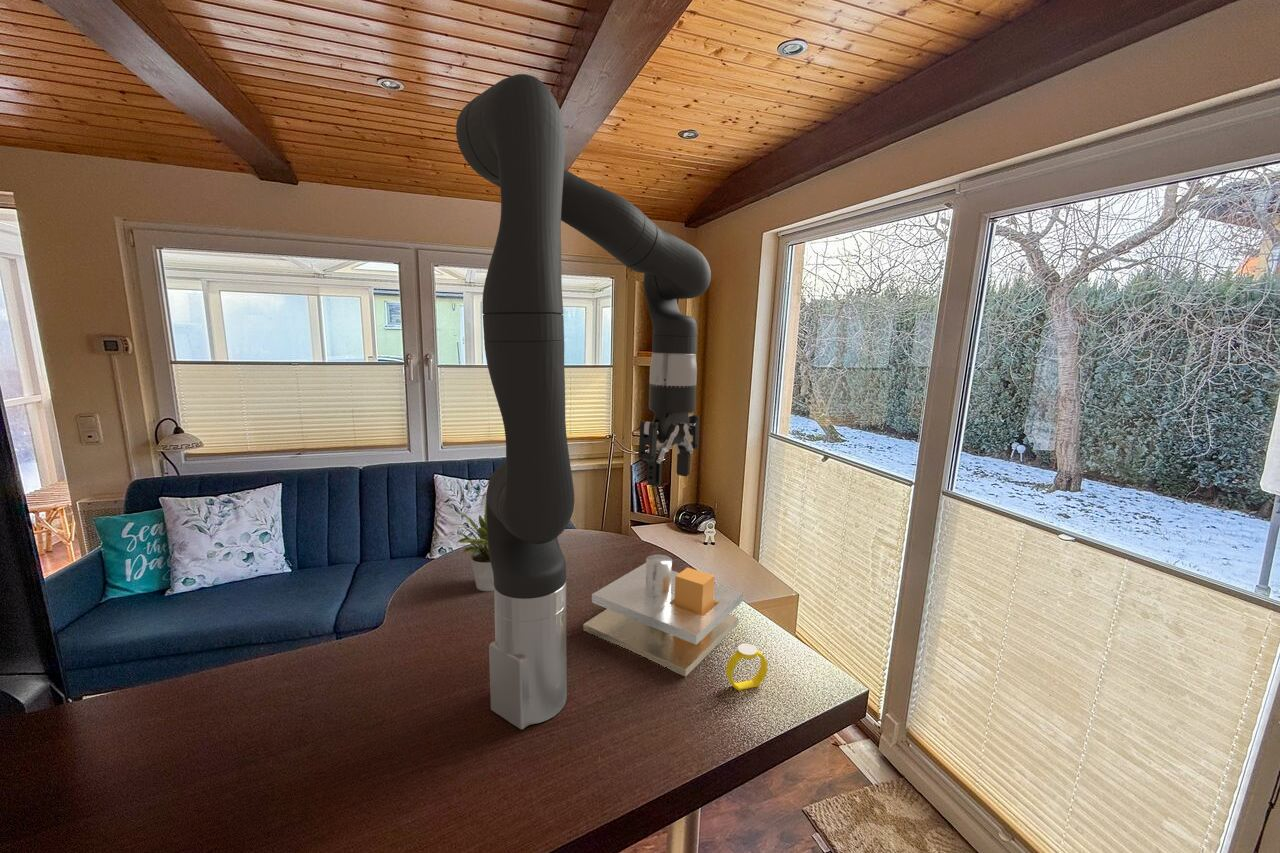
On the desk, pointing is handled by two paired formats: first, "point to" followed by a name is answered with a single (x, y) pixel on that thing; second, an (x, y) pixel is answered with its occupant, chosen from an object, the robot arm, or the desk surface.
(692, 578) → the orange rectangular prism
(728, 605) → the two-tier square platform
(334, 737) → the desk surface
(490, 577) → the house plant
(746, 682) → the watch
